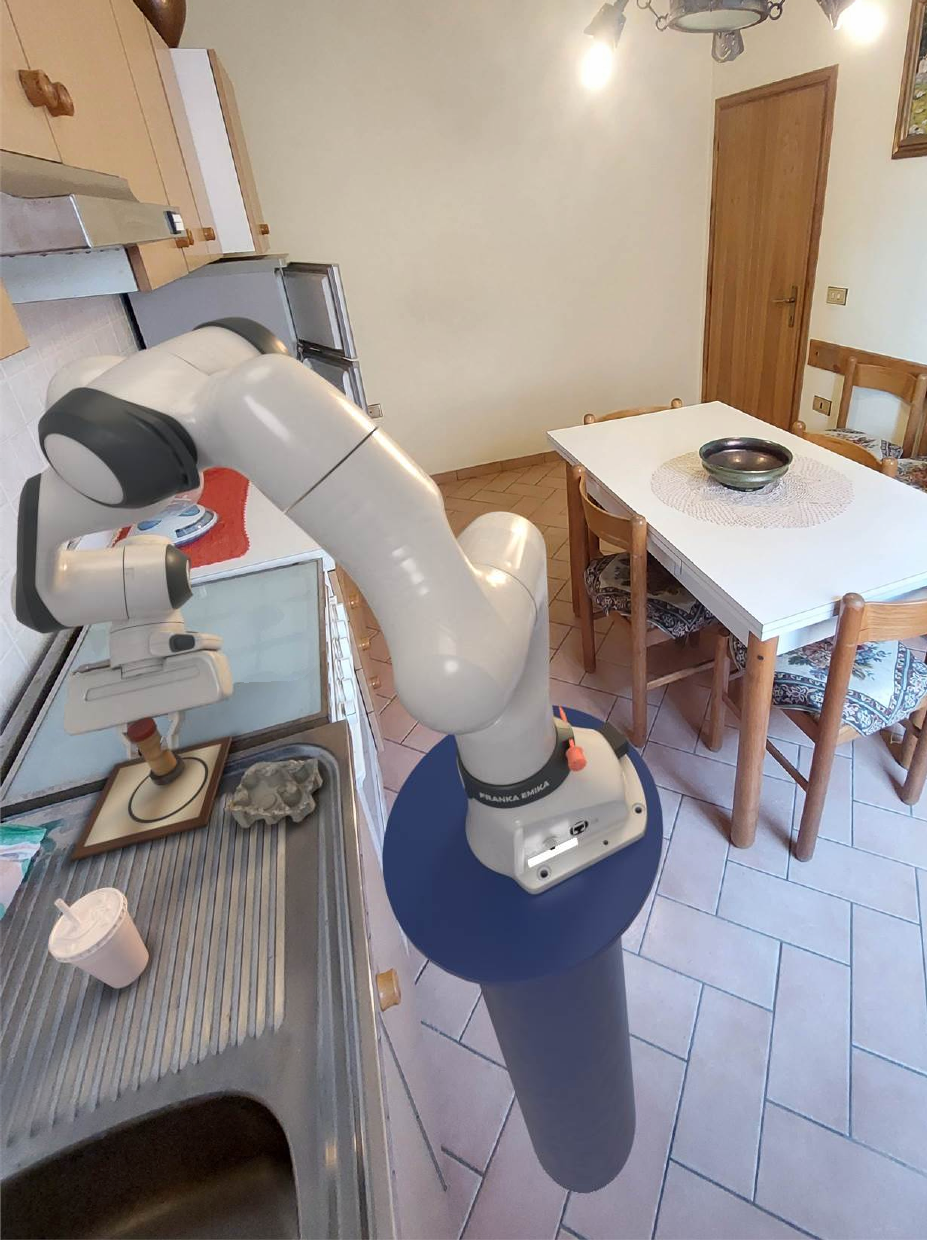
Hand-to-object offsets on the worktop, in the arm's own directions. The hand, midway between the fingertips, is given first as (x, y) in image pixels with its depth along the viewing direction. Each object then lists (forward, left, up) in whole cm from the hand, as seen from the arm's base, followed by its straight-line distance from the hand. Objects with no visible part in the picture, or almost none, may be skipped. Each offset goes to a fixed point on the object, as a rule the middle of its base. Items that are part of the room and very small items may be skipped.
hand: (153, 753), depth 81 cm
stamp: (0, -1, -5) cm, 5 cm away
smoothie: (-3, +23, -6) cm, 25 cm away
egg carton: (-16, +7, -6) cm, 19 cm away
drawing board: (+1, +1, -6) cm, 7 cm away
